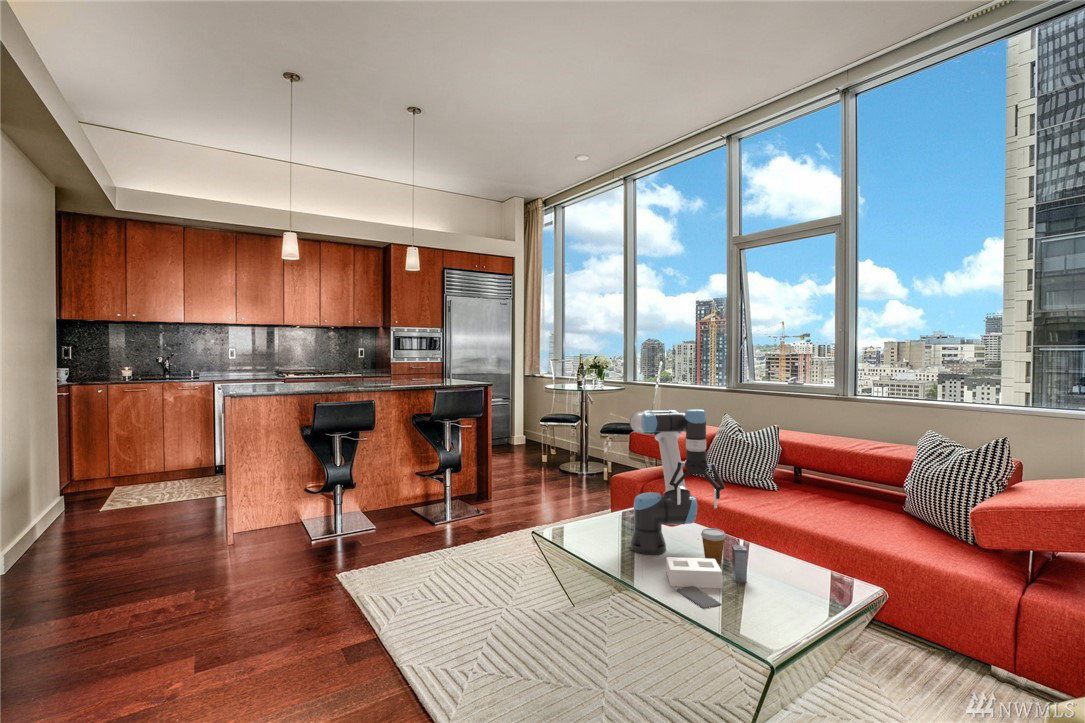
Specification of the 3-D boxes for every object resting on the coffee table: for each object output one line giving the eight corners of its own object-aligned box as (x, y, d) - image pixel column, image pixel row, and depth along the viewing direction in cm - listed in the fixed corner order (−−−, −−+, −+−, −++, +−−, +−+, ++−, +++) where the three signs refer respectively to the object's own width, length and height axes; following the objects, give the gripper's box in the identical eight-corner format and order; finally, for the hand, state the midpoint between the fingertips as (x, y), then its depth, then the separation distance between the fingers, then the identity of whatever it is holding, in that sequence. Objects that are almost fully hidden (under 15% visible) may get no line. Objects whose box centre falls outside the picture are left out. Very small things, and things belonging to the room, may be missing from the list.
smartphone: (703, 608, 170) (675, 588, 184) (703, 611, 170) (675, 591, 184) (722, 603, 173) (693, 585, 186) (722, 606, 173) (693, 587, 187)
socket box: (666, 572, 199) (666, 556, 199) (714, 574, 197) (714, 558, 197) (670, 586, 187) (670, 569, 187) (722, 588, 185) (721, 571, 185)
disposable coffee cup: (727, 566, 204) (727, 536, 204) (702, 565, 206) (702, 535, 206) (724, 557, 213) (723, 528, 213) (699, 556, 215) (699, 527, 215)
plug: (732, 577, 194) (731, 545, 194) (744, 577, 194) (743, 545, 194) (734, 582, 190) (734, 549, 190) (747, 582, 189) (747, 549, 189)
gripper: (661, 449, 201) (662, 504, 200) (729, 453, 190) (730, 511, 190) (665, 447, 208) (666, 500, 207) (731, 450, 197) (732, 506, 197)
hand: (697, 505), depth 198 cm, fingers open, 13 cm apart
